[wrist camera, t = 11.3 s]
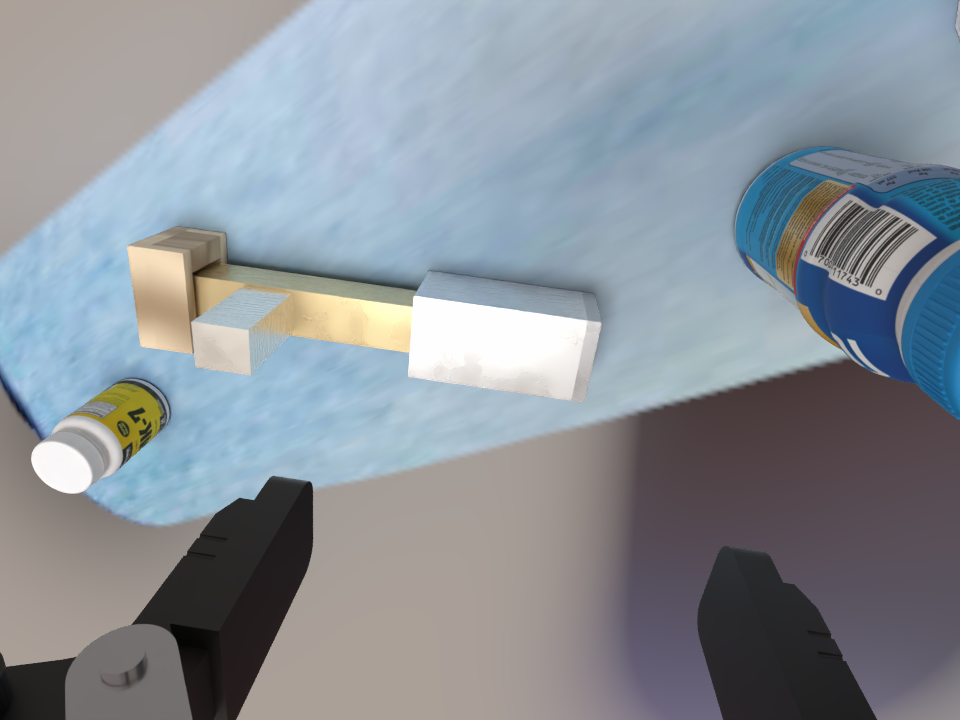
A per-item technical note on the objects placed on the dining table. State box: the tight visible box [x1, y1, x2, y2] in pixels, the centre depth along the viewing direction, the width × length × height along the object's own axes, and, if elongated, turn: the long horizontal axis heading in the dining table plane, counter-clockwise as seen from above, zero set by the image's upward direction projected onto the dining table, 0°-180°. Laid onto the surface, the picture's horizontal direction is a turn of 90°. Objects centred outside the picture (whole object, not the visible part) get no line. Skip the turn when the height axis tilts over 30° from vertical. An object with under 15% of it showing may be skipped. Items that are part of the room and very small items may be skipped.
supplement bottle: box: [31, 379, 169, 493], centre depth 41 cm, size 5×5×8 cm
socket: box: [127, 226, 228, 354], centre depth 38 cm, size 6×3×5 cm, turn 173°
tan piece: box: [191, 262, 417, 375], centre depth 35 cm, size 3×18×9 cm, turn 83°
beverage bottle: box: [735, 147, 960, 421], centre depth 26 cm, size 8×8×20 cm
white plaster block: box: [408, 271, 602, 402], centre depth 37 cm, size 5×11×5 cm, turn 83°
